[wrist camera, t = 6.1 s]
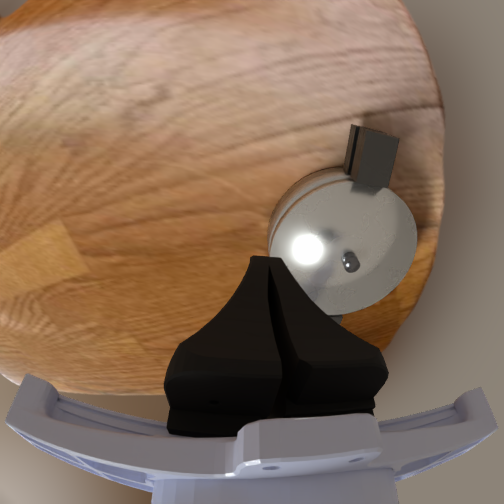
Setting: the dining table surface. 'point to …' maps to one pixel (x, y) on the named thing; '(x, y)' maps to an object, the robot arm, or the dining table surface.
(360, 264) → the lid
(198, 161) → the dining table surface
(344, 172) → the pot
